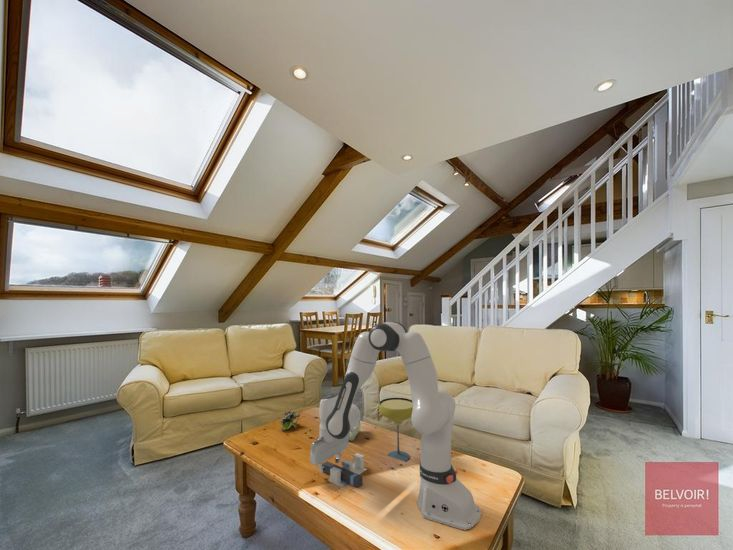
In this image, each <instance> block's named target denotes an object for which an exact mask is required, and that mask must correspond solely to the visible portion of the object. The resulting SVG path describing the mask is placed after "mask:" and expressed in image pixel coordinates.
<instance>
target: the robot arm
mask: <svg viewBox="0 0 733 550" xmlns="http://www.w3.org/2000/svg"><path fill="white" fill-rule="evenodd" d="M381 351H382V352H394V351H397V352H398V353H399V355H400V358H401V360H402V363H403V364H402V365H403V367H404V369H405V372H406V376H407V379H408V382H409V387H410V393H411V400H412V405H413V410H412V416H411V418H410V419H411V423H412V425H413V427H414V429H415V430H416V431H417V432H418V433H420V434H422V435H421V439H420V443H419V444H420V445H419V446H420V463H419V477H420V484H419V491H418V492H419V493H418V496H417V500H416V504H417V507H418V508H419V510H420V511H421V516H422V517H423V518H424V519H426V520H429V521H433V522H436V523H440V524H442V523H443V525H446V526H449V527H453V528H456V529H459V530H462V529H464V530H463V531H467V530H466V529H469V528H471V527H472V526H474V525H475V524H476V523H477V522H478V520H479V518H480V516H481V517H482V510H481V507H480V506H479V505H477V504H476V503H475V501H474V496H473V493H472V492H471V491H470V490H469V489H468V487H467V486H466V485H465V484H464V483H462V482H461V480H460V479H459V478H458V477H457V474H458V473H459V469H458V468H457V469H454V467H453V465H452V448H451V447H452V436H453V427H454V417H455V410H456V401H455V398H454V397H453V396H452V394H450V393H449V392H447V391H439V386H438V382H439V375H438V372H437V370H436V366H435V364H434V362H433V358H432V354H431V353H430V352H431V351H429V348H428V345H427V344H426V342H425V340H424V338H423V336H422V335H421V334H420V333H419V332H417V331H408V330H407V328H406V327H405V325H403V324H401V323H400V322H397V321H396V322H395V321H394V322H393V321H386V322H381V323H376V324H375V325H373V327H371V329H370V330H369V331H362V332H360V333H359V335H357V338H356V339H355V342H354V345H353V348H352V350H351V353H350V358H349V362H348V365H347V369H346V372H345V376H344V379H343V381H342V384H341V386H340V389H339V393H338V394H335V393H331V394H327V395H324V396H323V397H322V398H321V399H320V401H319V407H318V409H319V410H318V413H319V414H318V415H319V416H318V417H319V426H318V427H319V431H318V432H319V437H318V438H317V439H314V441H313V442H312V444H311V446H310V454H309V455H310V456H309V462H310V463H311V465H314V466H318V468H319V469H318V471H319V472H320V473H321V474H322V473H325V472H324V471H325V467H323V466H322V464H323V463H325V462H327V460H330V459H331V458H333V457H335V456H336V457H335V458H334V460H335V461H334V462H335V464H339V463H341V458H342V455H343V451H345V450H348V447H349V440H348V433H349V432H350V431H351V430H352V429H353V428H354V427H355V426H356V425H357V424H358V423H359V421H360V422H361V419H362V413H361V409H360V407H359V406H357V405H356V404H354V400H355V398H356V394H357V393H358V391H359V389H360V388H361V387H362V386H363V385H364V384H365V383H366V382H367V381H368V380H369V379H370V378H371V376H372V374H373V372H374V370H375V367H376V365H377V360H378V356H379V353H380V352H381ZM480 519H481V518H480ZM479 521H480V520H479ZM478 523H479V522H478ZM478 523H477V524H478ZM469 524H470V525H469ZM477 524H476V525H477ZM476 525H475V526H476ZM475 526H474V527H475ZM471 529H472V528H471ZM469 530H470V529H469Z"/></svg>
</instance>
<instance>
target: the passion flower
mask: <svg viewBox="0 0 733 550" xmlns="http://www.w3.org/2000/svg"><path fill="white" fill-rule="evenodd" d="M300 416H301V414H300V413H298V412H297V413H296V412H294V411H291V410H289V411H287V412H286V411H285V413H284V416H283V417H282V418H281V420H280V421H279V423H280V425H282V427H281V431H282V430H283V431H285V430H286V431H287V430H288V429H290V428H291V427H292V426H293V427H294V430H295V429H297V427H298V426H297V423H298V420H299V418H300ZM296 419H297V420H296ZM294 420H296V422H294ZM283 431H282V432H283Z"/></svg>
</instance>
